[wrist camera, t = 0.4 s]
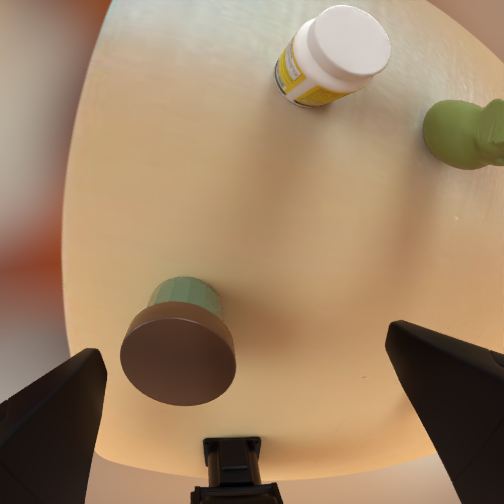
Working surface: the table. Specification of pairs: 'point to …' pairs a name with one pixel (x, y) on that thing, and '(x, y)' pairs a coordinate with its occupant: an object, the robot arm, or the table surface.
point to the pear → (466, 133)
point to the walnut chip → (179, 354)
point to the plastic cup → (188, 294)
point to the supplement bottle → (332, 57)
